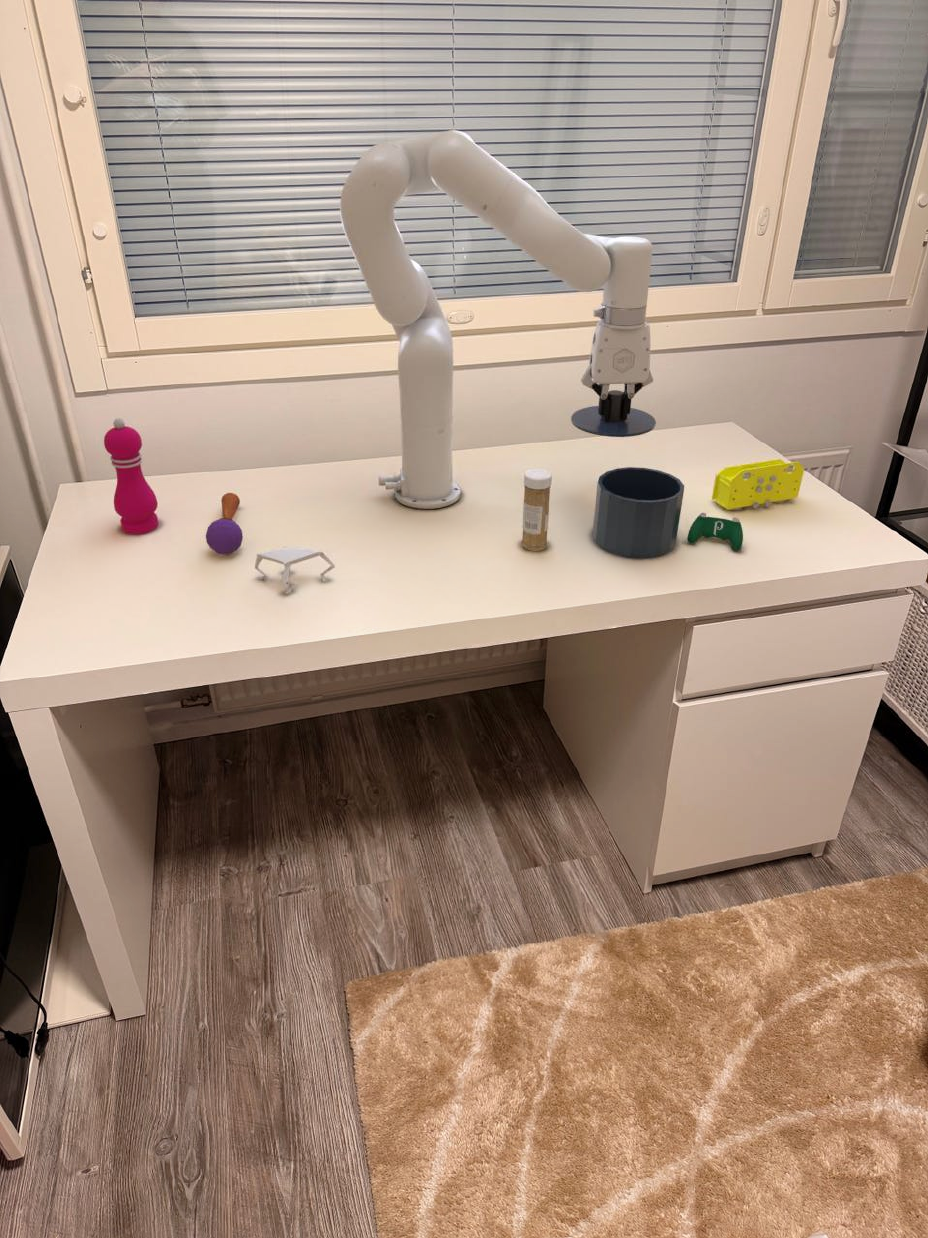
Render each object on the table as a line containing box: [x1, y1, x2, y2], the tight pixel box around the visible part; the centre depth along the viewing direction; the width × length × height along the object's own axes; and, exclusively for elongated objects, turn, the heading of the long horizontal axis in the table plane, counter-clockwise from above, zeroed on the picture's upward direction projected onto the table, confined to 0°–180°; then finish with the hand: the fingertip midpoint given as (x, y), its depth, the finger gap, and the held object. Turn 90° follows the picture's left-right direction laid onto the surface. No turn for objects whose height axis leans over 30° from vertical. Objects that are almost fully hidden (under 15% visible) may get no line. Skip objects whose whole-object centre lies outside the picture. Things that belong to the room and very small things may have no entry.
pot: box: [592, 466, 685, 559], centre depth 152 cm, size 14×15×10 cm
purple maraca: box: [205, 492, 244, 555], centre depth 154 cm, size 6×6×20 cm
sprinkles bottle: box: [521, 468, 553, 552], centre depth 149 cm, size 5×5×13 cm
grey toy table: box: [254, 546, 336, 595], centre depth 140 cm, size 12×8×5 cm
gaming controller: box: [686, 512, 744, 552], centre depth 154 cm, size 9×4×6 cm
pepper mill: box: [103, 417, 160, 535], centre depth 152 cm, size 7×7×20 cm
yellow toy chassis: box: [711, 458, 805, 511], centre depth 166 cm, size 16×6×8 cm, turn 110°
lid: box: [570, 389, 657, 438], centre depth 161 cm, size 15×15×6 cm
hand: (613, 417), depth 162 cm, fingers closed on lid, 2 cm apart
